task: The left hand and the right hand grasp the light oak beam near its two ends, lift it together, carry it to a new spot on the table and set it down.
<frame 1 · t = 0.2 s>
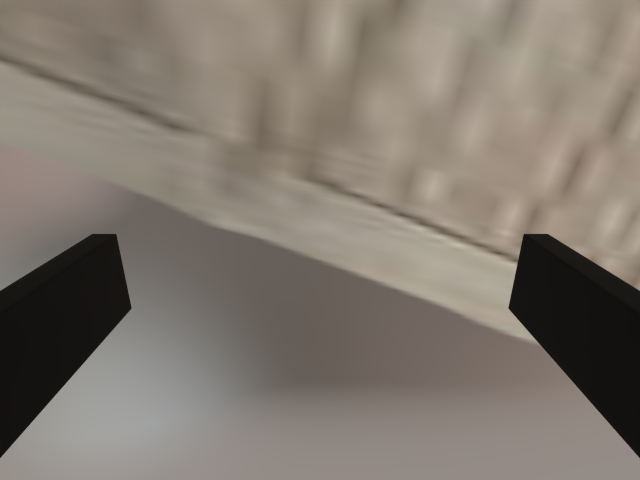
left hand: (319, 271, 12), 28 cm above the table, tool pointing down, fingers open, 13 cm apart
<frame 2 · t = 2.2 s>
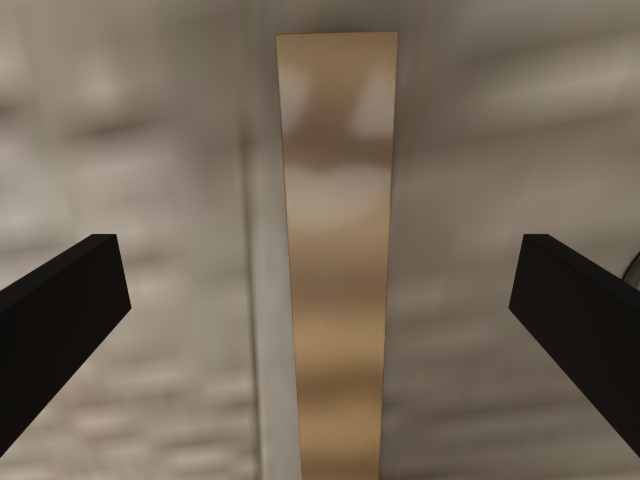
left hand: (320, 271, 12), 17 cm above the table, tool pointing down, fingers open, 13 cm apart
beam: (335, 380, 35), on the table
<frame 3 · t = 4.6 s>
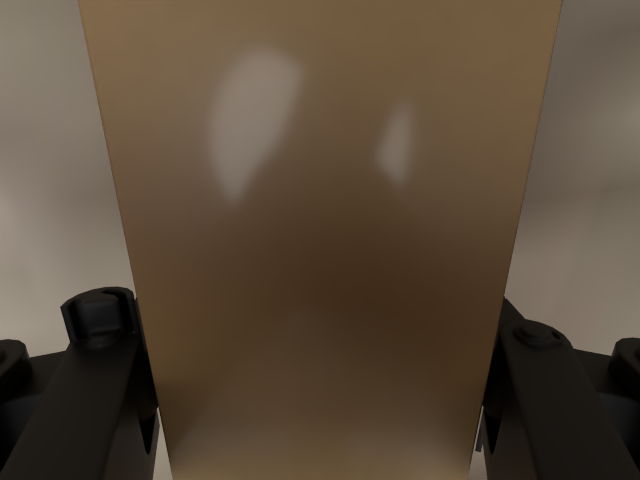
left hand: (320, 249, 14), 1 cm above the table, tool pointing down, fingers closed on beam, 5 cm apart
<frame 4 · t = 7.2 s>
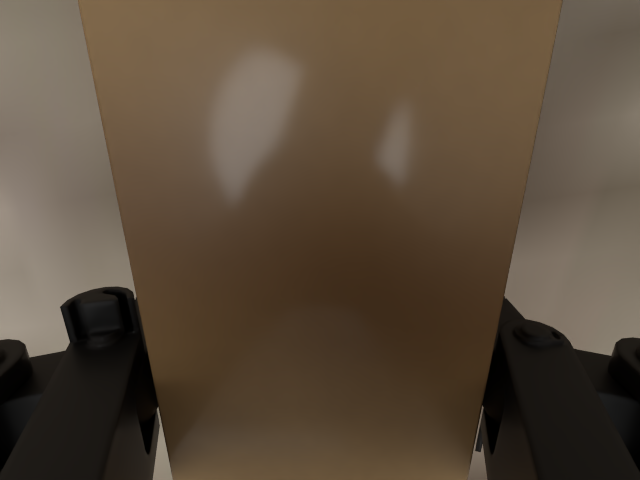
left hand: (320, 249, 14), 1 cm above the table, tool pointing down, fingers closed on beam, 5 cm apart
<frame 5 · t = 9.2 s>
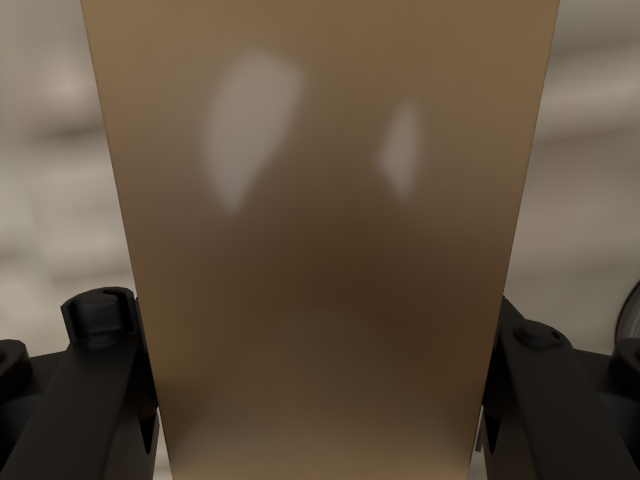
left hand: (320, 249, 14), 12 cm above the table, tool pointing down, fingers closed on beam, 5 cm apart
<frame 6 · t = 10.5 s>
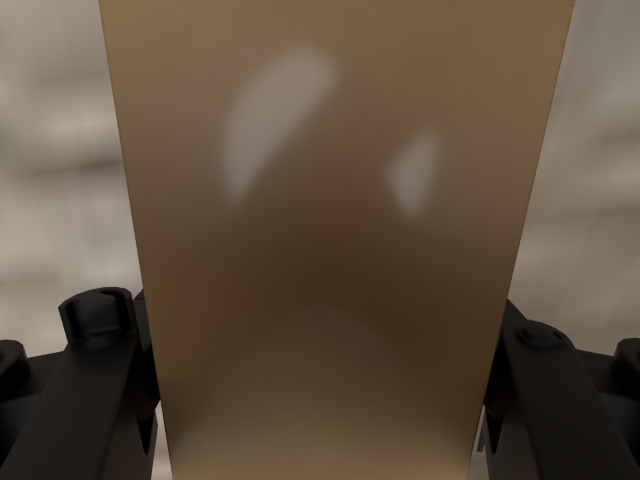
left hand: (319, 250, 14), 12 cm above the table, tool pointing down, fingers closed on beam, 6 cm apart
when the left hand's fingers open (2 cm above the table, at t = 13.9 s): beam drops 2 cm, on the table.
when the right hand's fingers open (2 cm above the table, at t = 13.9 s): beam drops 2 cm, on the table.
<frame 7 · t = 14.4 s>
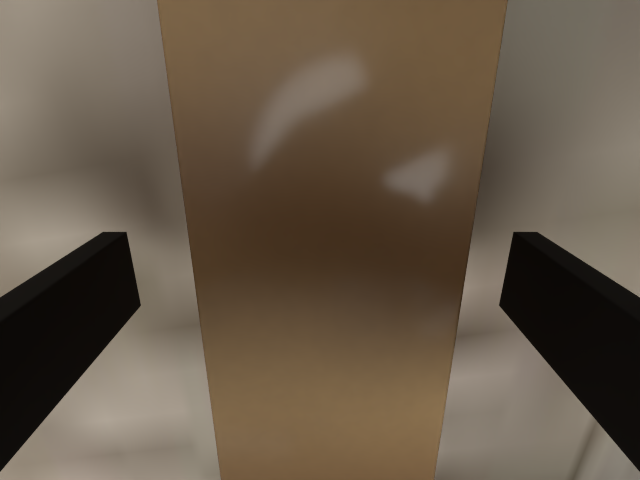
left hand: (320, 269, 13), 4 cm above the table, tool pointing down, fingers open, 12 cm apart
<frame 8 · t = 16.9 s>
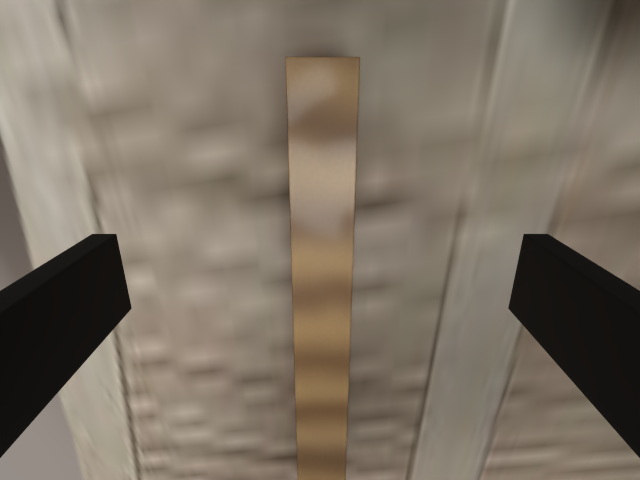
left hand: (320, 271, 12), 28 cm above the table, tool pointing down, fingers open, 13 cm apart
beam: (321, 311, 46), on the table
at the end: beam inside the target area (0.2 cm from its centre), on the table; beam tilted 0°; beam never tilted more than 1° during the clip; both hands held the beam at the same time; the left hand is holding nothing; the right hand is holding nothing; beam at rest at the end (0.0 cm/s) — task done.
